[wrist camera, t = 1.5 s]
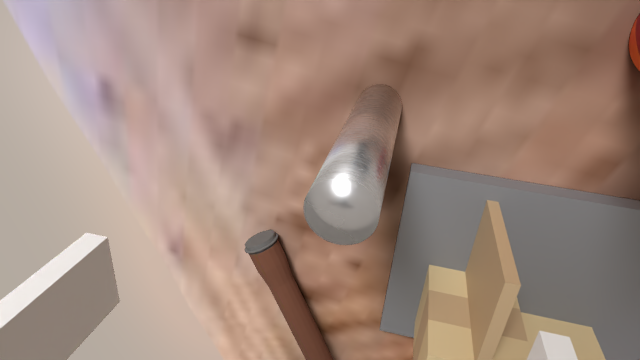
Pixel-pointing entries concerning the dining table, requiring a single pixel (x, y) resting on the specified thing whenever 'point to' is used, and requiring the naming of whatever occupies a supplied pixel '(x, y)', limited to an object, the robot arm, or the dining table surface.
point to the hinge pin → (356, 170)
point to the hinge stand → (513, 268)
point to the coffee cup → (635, 43)
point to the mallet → (286, 293)
